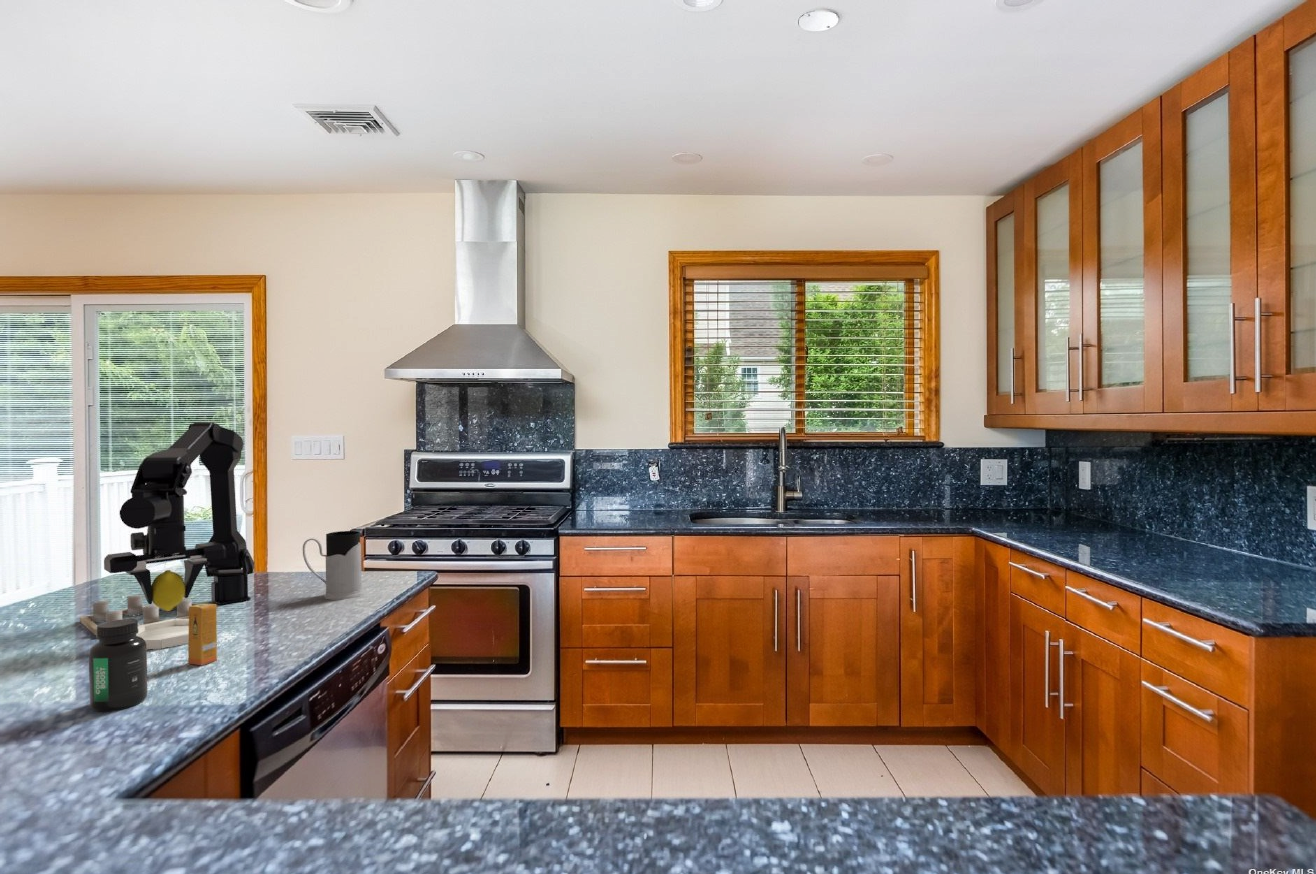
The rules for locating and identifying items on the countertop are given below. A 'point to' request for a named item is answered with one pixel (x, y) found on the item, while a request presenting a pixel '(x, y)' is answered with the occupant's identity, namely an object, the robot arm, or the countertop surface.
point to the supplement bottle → (117, 666)
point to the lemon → (168, 590)
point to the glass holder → (341, 564)
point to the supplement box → (202, 634)
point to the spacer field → (131, 612)
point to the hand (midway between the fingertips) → (168, 600)
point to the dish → (165, 633)
